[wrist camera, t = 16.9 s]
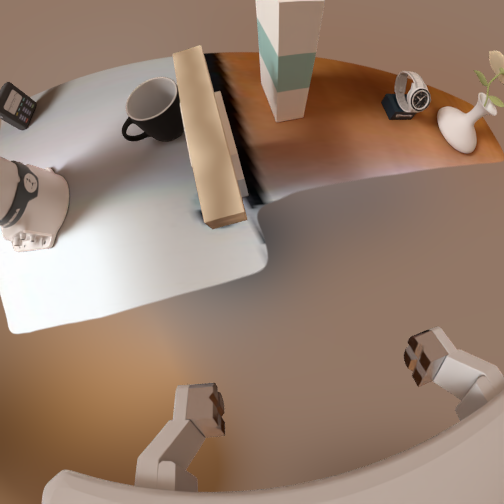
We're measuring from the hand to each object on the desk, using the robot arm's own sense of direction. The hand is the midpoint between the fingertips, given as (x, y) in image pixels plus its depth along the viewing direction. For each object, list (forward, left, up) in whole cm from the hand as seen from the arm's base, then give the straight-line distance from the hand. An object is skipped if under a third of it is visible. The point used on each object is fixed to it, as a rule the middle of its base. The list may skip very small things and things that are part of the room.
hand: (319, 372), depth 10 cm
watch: (+32, +28, -32) cm, 53 cm away
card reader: (-55, +62, -32) cm, 89 cm away
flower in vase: (+46, +23, -32) cm, 60 cm away
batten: (-3, +21, -16) cm, 26 cm away
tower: (+10, +34, -32) cm, 47 cm away
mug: (-13, +34, -32) cm, 48 cm away
